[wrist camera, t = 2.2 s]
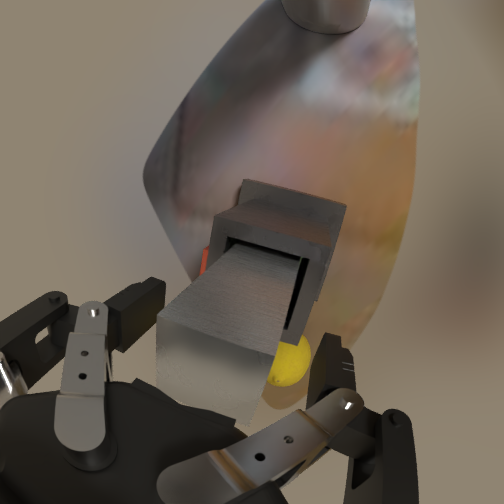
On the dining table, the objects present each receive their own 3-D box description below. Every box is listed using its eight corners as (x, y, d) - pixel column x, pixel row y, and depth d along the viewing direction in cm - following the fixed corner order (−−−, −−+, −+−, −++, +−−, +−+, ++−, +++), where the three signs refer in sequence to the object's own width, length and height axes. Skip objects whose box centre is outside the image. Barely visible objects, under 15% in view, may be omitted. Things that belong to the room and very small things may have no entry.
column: (265, 216, 26) (154, 311, 8) (308, 227, 25) (279, 354, 8) (256, 257, 27) (154, 391, 10) (297, 268, 27) (250, 428, 9)
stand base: (247, 178, 27) (195, 185, 16) (345, 204, 25) (364, 229, 14) (228, 269, 30) (178, 324, 19) (317, 295, 29) (311, 367, 18)
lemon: (272, 356, 32) (258, 402, 25) (260, 319, 31) (241, 361, 24) (316, 350, 31) (312, 397, 23) (307, 311, 30) (300, 355, 22)
